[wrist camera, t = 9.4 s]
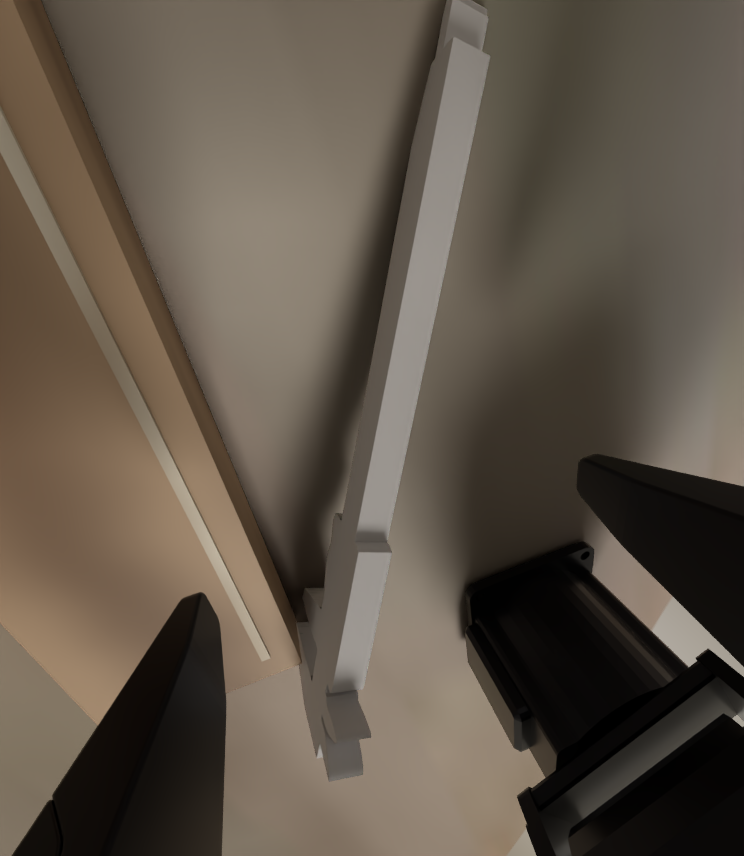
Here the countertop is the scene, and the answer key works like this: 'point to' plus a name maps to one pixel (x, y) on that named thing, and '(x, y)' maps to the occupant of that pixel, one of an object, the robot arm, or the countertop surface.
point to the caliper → (391, 397)
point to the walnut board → (104, 417)
